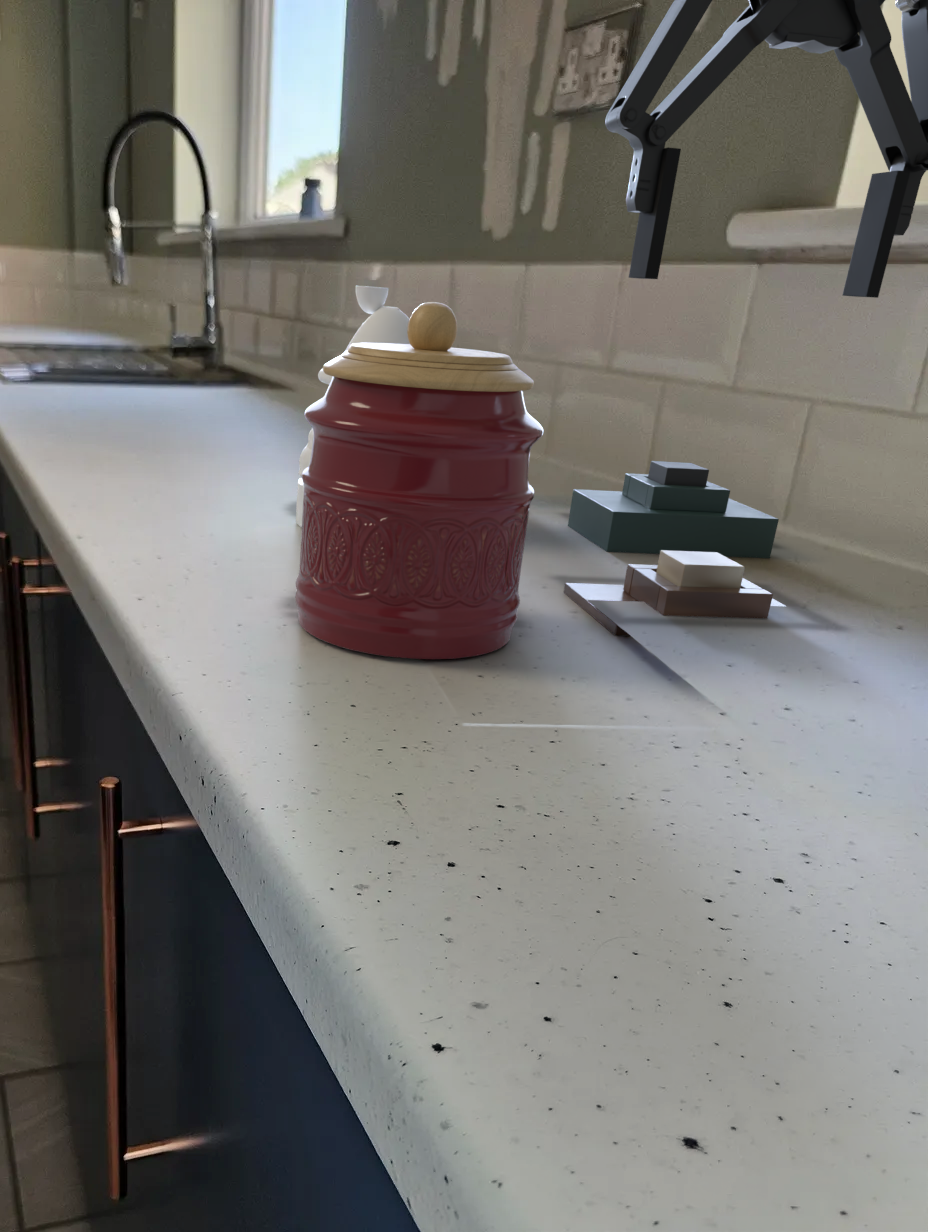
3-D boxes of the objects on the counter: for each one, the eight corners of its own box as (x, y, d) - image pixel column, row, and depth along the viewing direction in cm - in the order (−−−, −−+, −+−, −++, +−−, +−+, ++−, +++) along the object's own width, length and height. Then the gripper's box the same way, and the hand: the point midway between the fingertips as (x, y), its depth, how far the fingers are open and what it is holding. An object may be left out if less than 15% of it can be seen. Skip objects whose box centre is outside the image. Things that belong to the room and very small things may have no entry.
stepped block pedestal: (754, 599, 79) (762, 563, 78) (829, 642, 70) (839, 602, 69) (563, 592, 77) (568, 556, 76) (614, 635, 68) (621, 595, 67)
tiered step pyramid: (717, 532, 101) (729, 475, 99) (770, 558, 92) (784, 496, 90) (567, 526, 99) (576, 467, 97) (606, 552, 90) (617, 488, 88)
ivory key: (712, 578, 75) (717, 552, 74) (739, 594, 71) (745, 566, 70) (655, 576, 74) (660, 549, 73) (679, 592, 70) (685, 564, 70)
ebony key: (687, 484, 95) (691, 462, 95) (705, 491, 92) (709, 469, 91) (646, 482, 95) (650, 460, 94) (663, 489, 92) (667, 467, 91)
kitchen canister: (494, 678, 59) (543, 312, 51) (261, 642, 62) (276, 292, 54) (528, 617, 70) (572, 310, 63) (330, 589, 73) (349, 293, 66)
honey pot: (263, 520, 92) (273, 279, 85) (361, 505, 102) (378, 286, 94) (386, 550, 85) (409, 290, 78) (480, 531, 94) (508, 296, 87)
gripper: (1023, -116, 62) (911, 302, 71) (591, -175, 59) (531, 270, 68) (1124, -161, 56) (986, 306, 65) (642, -231, 52) (568, 270, 61)
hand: (752, 288), depth 66 cm, fingers open, 13 cm apart
